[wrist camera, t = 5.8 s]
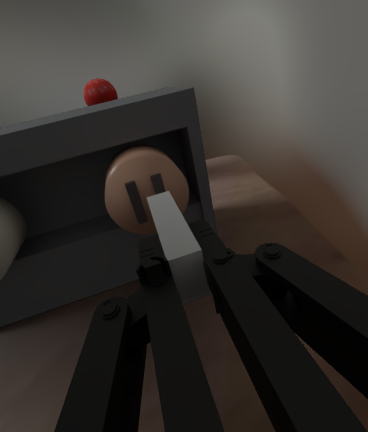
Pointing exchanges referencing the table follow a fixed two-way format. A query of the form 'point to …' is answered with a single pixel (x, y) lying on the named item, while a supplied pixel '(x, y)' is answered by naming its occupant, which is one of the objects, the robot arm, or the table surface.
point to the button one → (10, 234)
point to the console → (88, 195)
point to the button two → (141, 186)
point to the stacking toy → (99, 92)
